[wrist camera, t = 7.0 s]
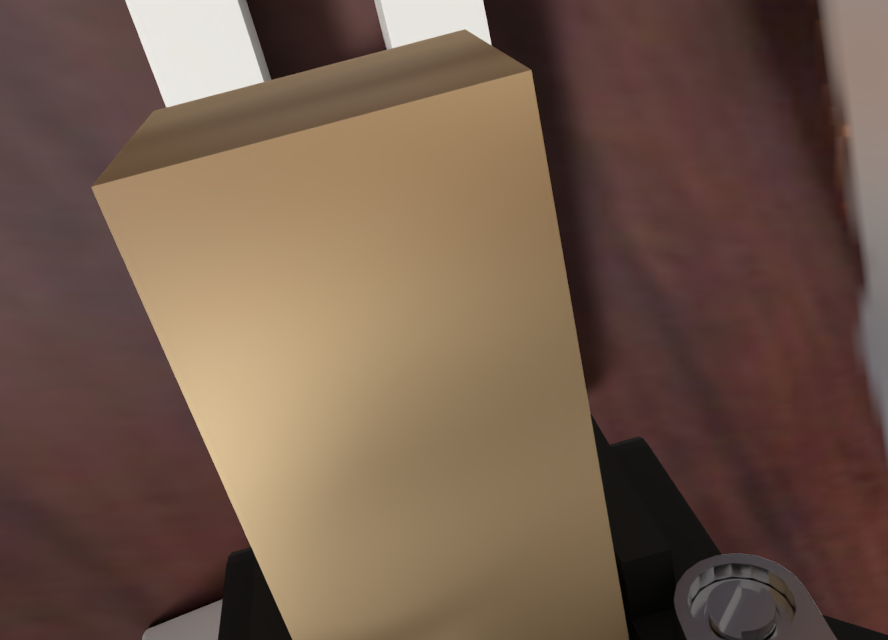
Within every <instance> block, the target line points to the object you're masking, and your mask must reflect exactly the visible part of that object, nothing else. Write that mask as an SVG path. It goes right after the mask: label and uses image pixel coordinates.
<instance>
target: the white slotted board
mask: <svg viewBox="0 0 888 640" xmlns="http://www.w3.org/2000/svg"><path fill="white" fill-rule="evenodd" d="M125 1H126V3H127V6H128V9H129V11H130V14H131V16H132V19H133V22H134V24H135V27H136V29H137V32H138V35H139V37H140V40H141V43H142V45H143V48H144V50H145V53H146V56H147V58H148V61H149V63H150V66H151V69H152V71H153V74H154V76H155V79H156V82H157V84H158V87H159V90H160V92H161V95H162V97H163V100H164V103H165V105H166V108H167V107H171V106H174V105H178V104H182V103H186V102H190V101H193V100H197V99H201V98H205V97H209V96H213V95H216V94H220V93H224V92H228V91H232V90H235V89H239V88H243V87H247V86H251V85H254V84H258V83H262V82H266V81H270V80H271V77H270V74H269V71H268V67H267V64H266V61H265V58H264V55H263V52H262V49H261V45H260V42H259V39H258V36H257V33H256V30H255V27H254V23H253V20H252V17H251V14H250V11H249V8H248V5H247V1H246V0H125ZM374 2H375V6H376V10H377V14H378V18H379V22H380V26H381V30H382V34H383V38H384V42H385V46H386V50H388V49H392V48H395V47H399V46H403V45H407V44H411V43H414V42H418V41H422V40H426V39H430V38H434V37H437V36H441V35H445V34H449V33H453V32H456V31H460V30H464V29H465V30H467V31H469V32H470V33H472V34H474V35H475V36H477V37H478V38H480V39H482V40H483V41H485V42H487V43H488V44H490V45H491V46H492V44H491V39H490V34H489V29H488V23H487V18H486V13H485V8H484V2H483V0H374Z"/></svg>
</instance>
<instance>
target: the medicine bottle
mask: <svg viewBox="0 0 888 640" xmlns="http://www.w3.org/2000/svg"><path fill="white" fill-rule="evenodd" d="M222 601H223V599H221V600H219V601H216V602H214V603H211V604H209V605H206V606H204V607H201V608H199V609H196V610H194V611H191V612H189V613H186V614H184V615H181V616H179V617H176V618H174V619H171V620H169V621H166V622H164V623H161V624H159V625H156V626H154V627H151V628H149V629H147V630H146V631H145V633H144V635H143V638H142V640H218V634H219V626H220V617H221V609H222Z"/></svg>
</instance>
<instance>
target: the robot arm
mask: <svg viewBox="0 0 888 640" xmlns="http://www.w3.org/2000/svg"><path fill="white" fill-rule="evenodd" d="M590 415H591V413H590ZM591 420H592V426H593V432H594V438H595V444H596V449H597V455H598V461H599V467H600V473H601V479H602V484H603V490H604V496H605V502H606V508H607V514H608V519H609V525H610V531H611V537H612V543H613V549H614V554H615V560H616V566H617V572H618V578H619V584H620V589H621V595H622V601H623V607H624V613H625V619H626V624H627V630H628V636H629V640H888V635H885V634H882V633H879V632H876V631H873V630H869V629H866V628H863V627H860V626H856V625H853V624H850V623H847V622H844V621H840V620H837V619H834V618H831V617H827V616H824V615H822V614H821V613H820V611H819V609H818V608H817V606H816V604H815V603H814V601H813V600H812V598H811V596H810V595H809V593H808V591H807V590H806V588H805V587H804V586H803V584H802V583H801V582H800V581H799V580H798V579H797V578H796V576H795V575H794V574H793V573H791V572H790V571H788V570H787V569H785V568H784V567H782V566H781V565H779V564H778V563H776V562H773V561H770V560H768V559H765V558H762V557H759V556H755V555H747V554H739V553H735V554H724V555H722V554H721V553H720V551H719V550H718V548H717V547H716V545H715V544H714V542H713V541H712V540H711V538H710V537H709V535H708V534H707V532H706V531H705V529H704V528H703V526H702V525H701V523H700V522H699V520H698V519H697V517H696V516H695V514H694V513H693V511H692V510H691V508H690V507H689V505H688V504H687V502H686V501H685V499H684V498H683V496H682V495H681V493H680V492H679V490H678V489H677V487H676V486H675V484H674V483H673V481H672V480H671V478H670V477H669V475H668V474H667V472H666V471H665V469H664V468H663V466H662V465H661V463H660V462H659V460H658V459H657V457H656V456H655V454H654V453H653V451H652V450H651V448H650V447H649V445H648V444H647V443H646V442H645V440H644V439H643V438H641V437H636V438H632V439H628V440H625V441H621V442H618V443H614V444H611V445H609V443H608V442H607V440H606V438H605V437H604V435H603V433H602V432H601V430H600V428H599V427H598V425H597V423H596V422H595V420H594V418H593V416H592V415H591ZM218 640H292V638H291V635H290V633H289V631H288V629H287V626H286V624H285V622H284V620H283V617H282V615H281V613H280V611H279V608H278V606H277V604H276V602H275V599H274V597H273V595H272V593H271V590H270V588H269V586H268V584H267V581H266V579H265V577H264V575H263V572H262V570H261V568H260V566H259V563H258V561H257V559H256V557H255V554H254V552H253V550H252V548H251V547H250V548H247V549H243V550H240V551H236V552H233V553H231V554H230V556H229V558H228V562H227V567H226V575H225V584H224V592H223V601H222V609H221V617H220V626H219V634H218Z"/></svg>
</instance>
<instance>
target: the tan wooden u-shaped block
mask: <svg viewBox="0 0 888 640" xmlns="http://www.w3.org/2000/svg"><path fill="white" fill-rule="evenodd" d="M91 188H92V190H93V192H94V195H95V197H96V199H97V201H98V204H99V206H100V208H101V210H102V213H103V215H104V217H105V219H106V222H107V224H108V226H109V228H110V231H111V233H112V235H113V237H114V240H115V242H116V244H117V246H118V249H119V251H120V253H121V255H122V258H123V260H124V262H125V264H126V266H127V269H128V271H129V273H130V275H131V278H132V280H133V282H134V284H135V287H136V289H137V291H138V293H139V296H140V298H141V300H142V302H143V305H144V307H145V309H146V311H147V314H148V316H149V318H150V320H151V323H152V325H153V327H154V329H155V332H156V334H157V336H158V338H159V341H160V343H161V345H162V347H163V350H164V352H165V354H166V356H167V359H168V361H169V363H170V365H171V368H172V370H173V372H174V374H175V377H176V379H177V381H178V383H179V386H180V388H181V390H182V392H183V395H184V397H185V399H186V401H187V404H188V406H189V408H190V410H191V413H192V415H193V417H194V419H195V422H196V424H197V426H198V428H199V431H200V433H201V435H202V437H203V440H204V442H205V444H206V446H207V449H208V451H209V453H210V455H211V458H212V460H213V462H214V464H215V467H216V469H217V471H218V473H219V476H220V478H221V480H222V482H223V485H224V487H225V489H226V491H227V494H228V496H229V498H230V500H231V503H232V505H233V507H234V509H235V512H236V514H237V516H238V518H239V521H240V523H241V525H242V527H243V530H244V532H245V534H246V536H247V539H248V541H249V543H250V545H251V548H252V550H253V552H254V554H255V557H256V559H257V561H258V563H259V566H260V568H261V570H262V572H263V575H264V577H265V579H266V581H267V584H268V586H269V588H270V590H271V593H272V595H273V597H274V599H275V602H276V604H277V606H278V608H279V611H280V613H281V615H282V617H283V620H284V622H285V624H286V626H287V629H288V631H289V633H290V635H291V638H292V640H629V636H628V630H627V624H626V619H625V613H624V607H623V601H622V595H621V589H620V584H619V578H618V572H617V566H616V560H615V554H614V549H613V543H612V537H611V531H610V525H609V519H608V514H607V508H606V502H605V496H604V490H603V484H602V479H601V473H600V467H599V461H598V455H597V449H596V444H595V438H594V432H593V426H592V420H591V415H590V409H589V403H588V397H587V391H586V385H585V380H584V374H583V368H582V362H581V356H580V350H579V345H578V339H577V333H576V327H575V321H574V315H573V310H572V304H571V298H570V292H569V286H568V280H567V275H566V269H565V263H564V257H563V251H562V246H561V240H560V234H559V228H558V222H557V216H556V211H555V205H554V199H553V193H552V187H551V181H550V176H549V170H548V164H547V158H546V152H545V146H544V141H543V135H542V129H541V123H540V117H539V111H538V106H537V100H536V94H535V88H534V82H533V76H532V71H531V69H529V68H527V67H526V66H524V65H523V64H521V63H519V62H518V61H516V60H514V59H513V58H511V57H509V56H508V55H506V54H505V53H503V52H501V51H500V50H498V49H496V48H495V47H493V46H491V45H490V44H488V43H487V42H485V41H483V40H482V39H480V38H478V37H477V36H475V35H474V34H472V33H470V32H469V31H467V30H465V29H464V30H460V31H456V32H453V33H449V34H445V35H441V36H437V37H434V38H430V39H426V40H422V41H418V42H414V43H411V44H407V45H403V46H399V47H395V48H392V49H388V50H384V51H380V52H376V53H373V54H369V55H365V56H361V57H357V58H354V59H350V60H346V61H342V62H338V63H334V64H331V65H327V66H323V67H319V68H315V69H312V70H308V71H304V72H300V73H296V74H293V75H289V76H285V77H281V78H277V79H273V80H270V81H266V82H262V83H258V84H254V85H251V86H247V87H243V88H239V89H235V90H232V91H228V92H224V93H220V94H216V95H213V96H209V97H205V98H201V99H197V100H193V101H190V102H186V103H182V104H178V105H174V106H171V107H167V108H163V109H159V110H155V111H153V112H152V114H151V115H150V116H149V117H148V118H147V120H146V121H145V122H144V123H143V124H142V126H141V127H140V128H139V129H138V131H137V132H136V133H135V134H134V135H133V137H132V138H131V139H130V140H129V141H128V143H127V144H126V145H125V146H124V147H123V149H122V150H121V151H120V152H119V154H118V155H117V156H116V157H115V158H114V160H113V161H112V162H111V163H110V164H109V166H108V167H107V168H106V169H105V171H104V172H103V173H102V174H101V175H100V177H99V178H98V179H97V180H96V181H95V183H94V184H93V185H92V186H91Z"/></svg>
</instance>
